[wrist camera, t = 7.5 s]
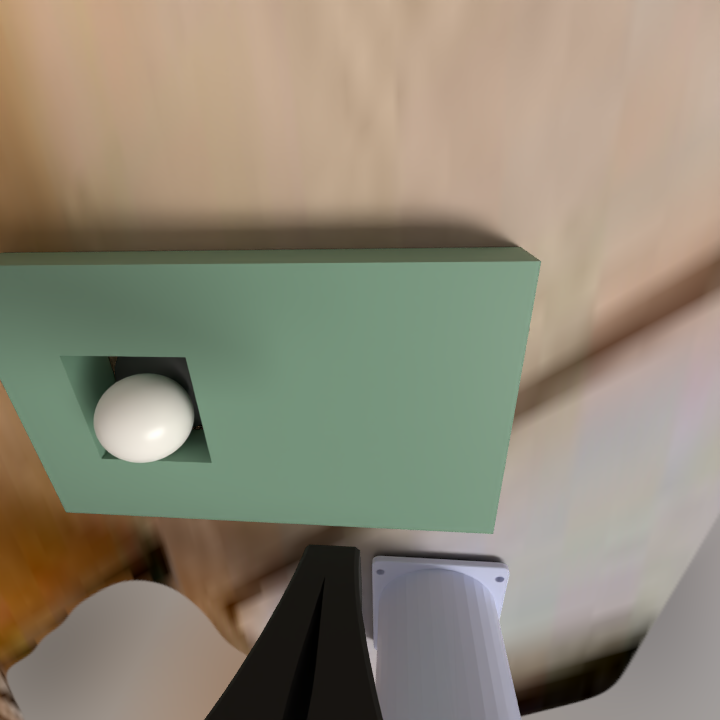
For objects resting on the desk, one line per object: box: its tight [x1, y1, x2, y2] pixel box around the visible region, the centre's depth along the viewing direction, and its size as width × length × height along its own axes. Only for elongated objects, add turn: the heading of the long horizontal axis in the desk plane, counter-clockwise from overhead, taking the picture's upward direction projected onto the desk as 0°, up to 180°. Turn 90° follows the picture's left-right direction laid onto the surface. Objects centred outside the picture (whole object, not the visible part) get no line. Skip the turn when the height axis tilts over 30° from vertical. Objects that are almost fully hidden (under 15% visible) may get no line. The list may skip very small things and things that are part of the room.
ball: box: [94, 373, 194, 463], centre depth 18 cm, size 4×4×4 cm
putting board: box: [0, 247, 541, 534], centre depth 18 cm, size 13×22×2 cm, turn 92°
